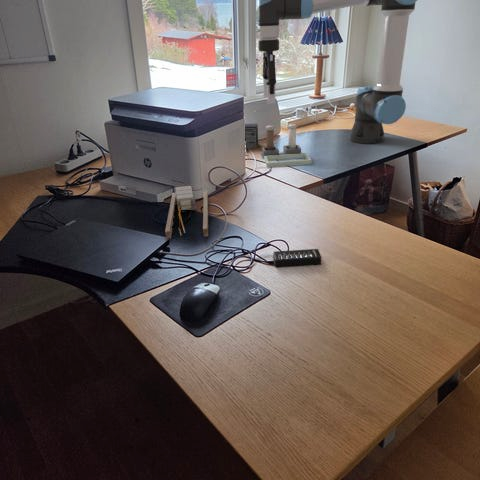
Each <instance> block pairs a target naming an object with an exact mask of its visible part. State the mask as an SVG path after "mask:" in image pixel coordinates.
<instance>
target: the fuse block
mask: <svg viewBox="0 0 480 480" xmlns="http://www.w3.org/2000/svg"><path fill="white" fill-rule="evenodd" d="M282 146H283V147H282V148H283V152H280V149H279V148H278V146H277V145H274V150H268V151H267V146H261V158H262V160H264V156H271V155H286V154H301V153H302V148H301V147H300V145H299V144H296V149H288V144H287V145H282Z"/></svg>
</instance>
